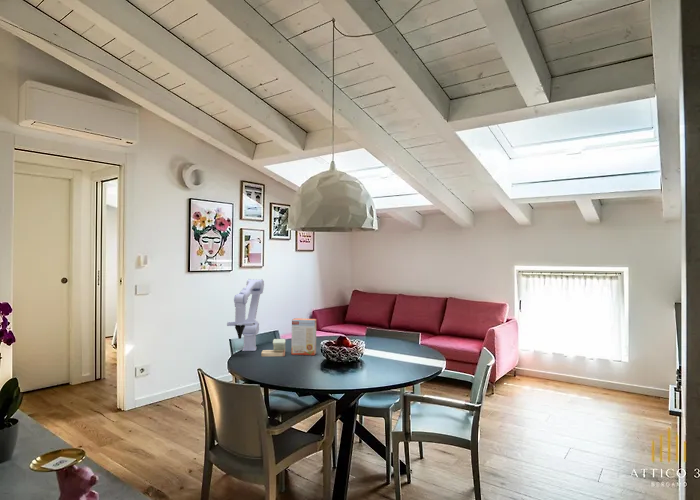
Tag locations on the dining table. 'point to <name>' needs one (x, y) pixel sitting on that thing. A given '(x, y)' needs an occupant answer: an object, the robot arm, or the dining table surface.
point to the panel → (272, 353)
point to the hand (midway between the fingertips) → (239, 338)
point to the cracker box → (303, 336)
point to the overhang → (279, 345)
